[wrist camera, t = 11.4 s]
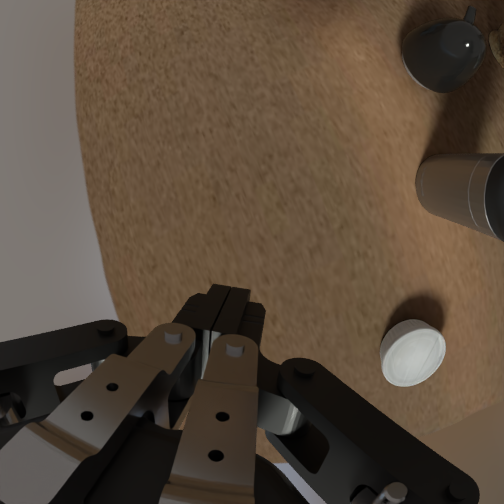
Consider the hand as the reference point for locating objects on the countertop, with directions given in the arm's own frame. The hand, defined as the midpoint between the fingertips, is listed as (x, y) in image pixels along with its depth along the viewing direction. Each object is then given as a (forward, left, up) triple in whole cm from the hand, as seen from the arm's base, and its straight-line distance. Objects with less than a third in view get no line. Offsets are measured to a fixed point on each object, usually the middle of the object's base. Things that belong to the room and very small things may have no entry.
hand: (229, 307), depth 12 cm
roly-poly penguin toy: (-22, -25, -31) cm, 46 cm away
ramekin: (-26, +19, -31) cm, 45 cm away
